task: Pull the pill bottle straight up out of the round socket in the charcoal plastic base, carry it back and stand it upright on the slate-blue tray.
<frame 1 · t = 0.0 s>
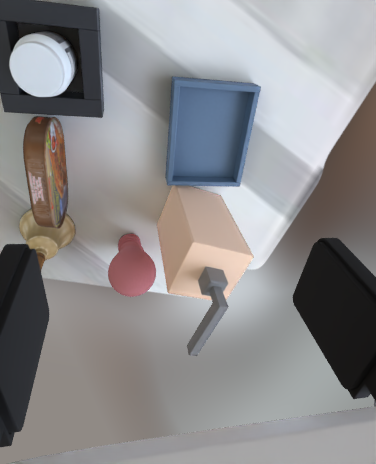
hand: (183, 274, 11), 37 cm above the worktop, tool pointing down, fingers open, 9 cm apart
soap dispenser: (183, 219, 54), on the worktop
pill bottle: (54, 58, 37), resting in socket base
hand bell: (48, 227, 50), on the worktop
tin: (54, 162, 45), on the worktop
socket base: (54, 58, 37), on the worktop
light bulb: (131, 239, 54), on the worktop
tray: (206, 133, 46), on the worktop
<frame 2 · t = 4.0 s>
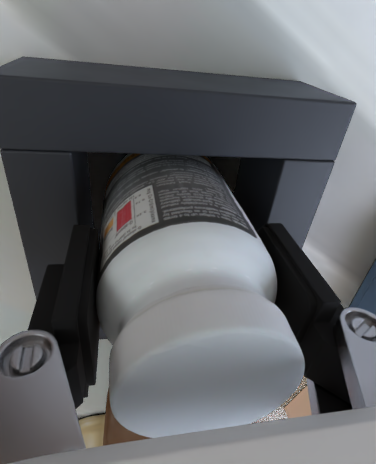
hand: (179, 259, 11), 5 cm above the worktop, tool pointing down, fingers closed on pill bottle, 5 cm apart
soap dispenser: (327, 396, 32), on the worktop
pill bottle: (164, 193, 15), resting in socket base, touching gripper
hand bell: (104, 433, 28), on the worktop
tin: (130, 357, 22), on the worktop
socket base: (165, 194, 15), on the worktop
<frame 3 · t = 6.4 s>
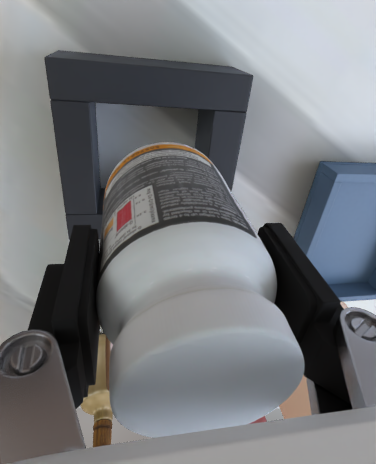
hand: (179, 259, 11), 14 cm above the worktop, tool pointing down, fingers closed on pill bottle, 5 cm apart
soap dispenser: (287, 330, 39), on the worktop
pill bottle: (164, 193, 15), point 9 cm above the worktop, touching gripper
hand bell: (105, 355, 35), on the worktop
socket base: (147, 144, 23), on the worktop
tray: (347, 231, 31), on the worktop
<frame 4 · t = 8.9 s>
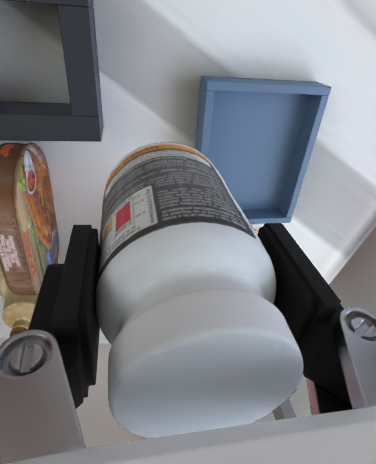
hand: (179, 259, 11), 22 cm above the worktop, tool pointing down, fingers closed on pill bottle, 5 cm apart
soap dispenser: (212, 262, 41), on the worktop
pill bottle: (164, 193, 15), point 16 cm above the worktop, touching gripper
hand bell: (35, 282, 38), on the worktop
tin: (37, 201, 32), on the worktop
socket base: (26, 55, 25), on the worktop
tray: (247, 154, 33), on the worktop
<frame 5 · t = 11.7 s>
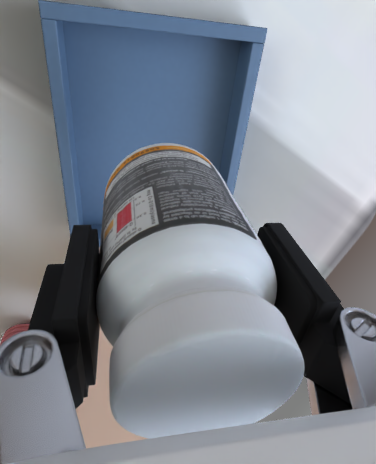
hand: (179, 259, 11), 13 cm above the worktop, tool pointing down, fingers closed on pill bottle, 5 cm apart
soap dispenser: (125, 294, 30), on the worktop
pill bottle: (164, 194, 15), point 8 cm above the worktop, touching gripper
tray: (151, 140, 22), on the worktop
when the fingers open (6 cm above the worktop, at t = 13.9 s): pill bottle stays where it is, resting on tray.
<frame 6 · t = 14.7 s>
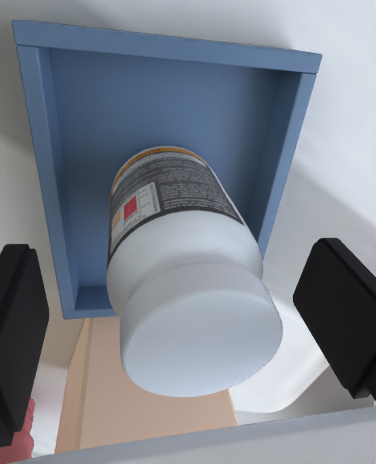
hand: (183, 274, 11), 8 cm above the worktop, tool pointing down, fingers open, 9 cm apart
soap dispenser: (128, 355, 25), on the worktop
pill bottle: (165, 192, 17), resting on tray
light bulb: (17, 395, 26), on the worktop
tray: (163, 188, 17), on the worktop
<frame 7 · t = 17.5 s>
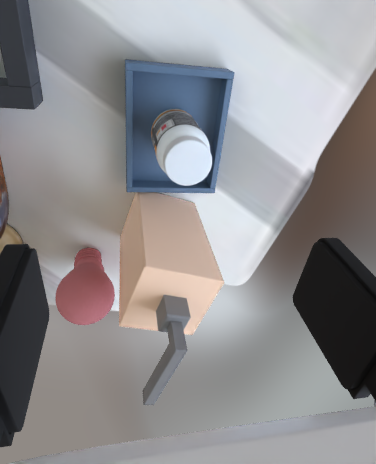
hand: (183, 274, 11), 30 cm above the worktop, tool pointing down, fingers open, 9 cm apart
soap dispenser: (152, 230, 46), on the worktop
pill bottle: (174, 131, 38), resting on tray
light bulb: (91, 253, 47), on the worktop
tray: (173, 130, 38), on the worktop
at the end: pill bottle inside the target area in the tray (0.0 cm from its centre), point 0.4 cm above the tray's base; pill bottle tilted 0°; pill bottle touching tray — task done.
